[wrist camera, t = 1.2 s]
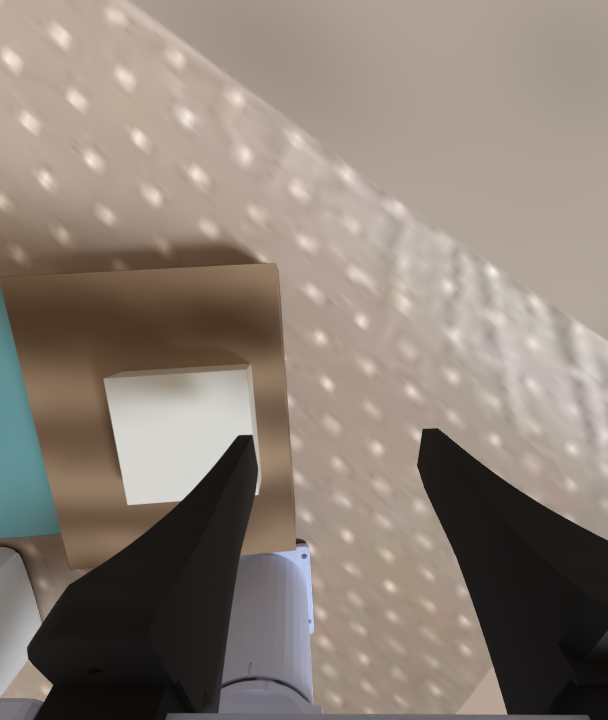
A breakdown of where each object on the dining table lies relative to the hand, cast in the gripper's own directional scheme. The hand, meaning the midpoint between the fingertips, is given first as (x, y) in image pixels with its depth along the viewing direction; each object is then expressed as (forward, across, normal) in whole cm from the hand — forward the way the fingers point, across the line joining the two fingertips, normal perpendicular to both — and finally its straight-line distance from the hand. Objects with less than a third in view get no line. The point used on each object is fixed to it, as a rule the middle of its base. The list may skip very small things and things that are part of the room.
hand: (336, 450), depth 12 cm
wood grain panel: (+9, +11, +4) cm, 15 cm away
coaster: (+5, +9, +3) cm, 11 cm away
